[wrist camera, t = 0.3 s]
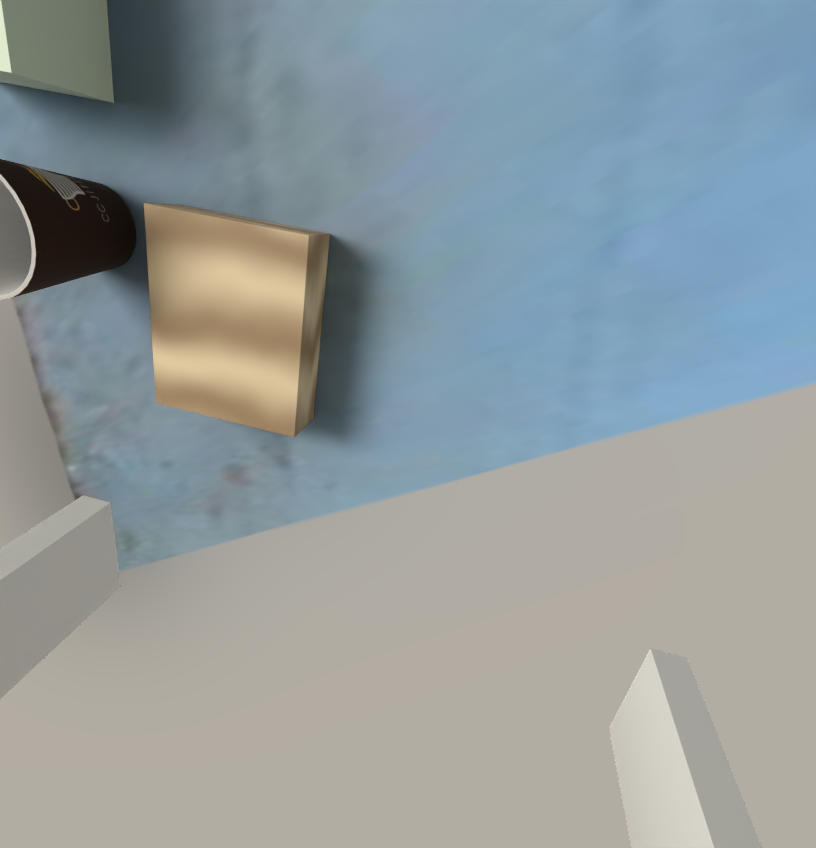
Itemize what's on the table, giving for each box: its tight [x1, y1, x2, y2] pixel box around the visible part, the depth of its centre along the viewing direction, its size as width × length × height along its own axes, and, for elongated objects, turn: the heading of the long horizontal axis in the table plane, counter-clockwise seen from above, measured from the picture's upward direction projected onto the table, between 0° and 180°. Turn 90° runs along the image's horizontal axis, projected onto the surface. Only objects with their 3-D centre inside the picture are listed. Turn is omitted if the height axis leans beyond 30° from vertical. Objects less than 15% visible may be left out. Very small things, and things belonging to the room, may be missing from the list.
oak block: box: [144, 203, 330, 437], centre depth 37 cm, size 15×12×4 cm
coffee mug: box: [0, 159, 136, 300], centre depth 33 cm, size 12×9×10 cm
